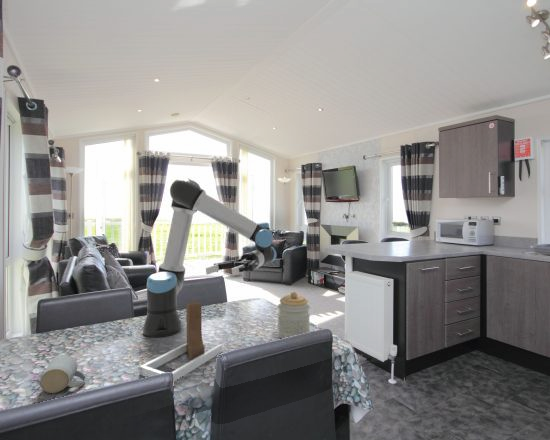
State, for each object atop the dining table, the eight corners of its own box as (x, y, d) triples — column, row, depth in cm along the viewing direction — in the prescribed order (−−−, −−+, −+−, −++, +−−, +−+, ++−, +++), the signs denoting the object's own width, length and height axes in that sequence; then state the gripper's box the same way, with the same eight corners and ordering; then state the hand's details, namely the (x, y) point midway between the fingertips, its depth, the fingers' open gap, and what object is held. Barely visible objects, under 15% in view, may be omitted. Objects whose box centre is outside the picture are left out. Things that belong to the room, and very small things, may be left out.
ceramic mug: (38, 397, 89) (37, 369, 88) (48, 382, 96) (48, 356, 96) (82, 391, 92) (82, 364, 92) (89, 377, 100) (89, 352, 99)
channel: (139, 374, 101) (139, 366, 101) (195, 344, 123) (195, 338, 123) (168, 385, 95) (168, 376, 95) (222, 351, 117) (222, 344, 117)
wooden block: (204, 360, 111) (204, 307, 110) (191, 362, 109) (190, 309, 108) (199, 349, 119) (198, 300, 118) (186, 351, 117) (186, 301, 116)
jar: (300, 344, 123) (300, 298, 122) (271, 337, 130) (271, 293, 129) (315, 333, 134) (315, 290, 133) (287, 327, 141) (287, 286, 140)
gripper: (276, 269, 138) (245, 282, 121) (231, 268, 152) (197, 279, 134) (274, 251, 138) (243, 262, 120) (229, 252, 152) (195, 261, 134)
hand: (219, 271), depth 127 cm, fingers open, 13 cm apart
